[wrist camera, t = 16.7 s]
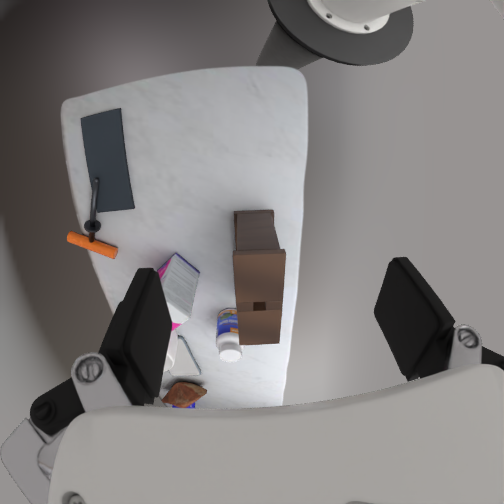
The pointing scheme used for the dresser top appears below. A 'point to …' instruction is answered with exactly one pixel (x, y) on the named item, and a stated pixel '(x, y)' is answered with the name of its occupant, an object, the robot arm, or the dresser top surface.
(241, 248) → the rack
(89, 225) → the T-handle
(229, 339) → the pill bottle
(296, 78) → the dresser top surface
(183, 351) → the smartphone
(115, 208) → the mat
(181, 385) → the reddish-brown rock
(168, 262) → the supplement box
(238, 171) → the dresser top surface
